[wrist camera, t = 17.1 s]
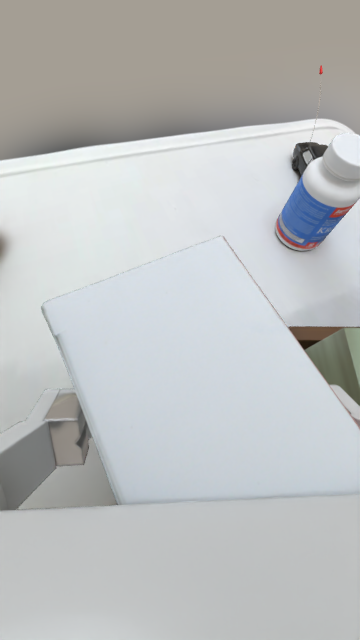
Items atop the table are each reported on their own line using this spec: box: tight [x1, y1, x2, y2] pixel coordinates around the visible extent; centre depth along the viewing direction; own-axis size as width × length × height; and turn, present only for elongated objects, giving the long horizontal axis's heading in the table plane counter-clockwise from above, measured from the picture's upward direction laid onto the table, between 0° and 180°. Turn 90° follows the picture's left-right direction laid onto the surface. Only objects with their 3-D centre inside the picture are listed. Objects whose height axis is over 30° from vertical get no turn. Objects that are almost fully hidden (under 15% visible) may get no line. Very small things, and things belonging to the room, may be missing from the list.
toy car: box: [292, 66, 328, 177], centre depth 31 cm, size 4×12×8 cm, turn 10°
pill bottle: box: [275, 133, 360, 251], centre depth 26 cm, size 6×5×10 cm
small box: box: [41, 236, 360, 505], centre depth 11 cm, size 8×6×10 cm
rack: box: [288, 327, 360, 406], centre depth 17 cm, size 22×11×12 cm, turn 91°
